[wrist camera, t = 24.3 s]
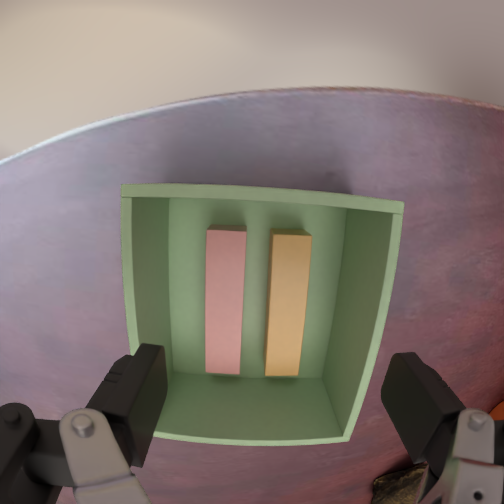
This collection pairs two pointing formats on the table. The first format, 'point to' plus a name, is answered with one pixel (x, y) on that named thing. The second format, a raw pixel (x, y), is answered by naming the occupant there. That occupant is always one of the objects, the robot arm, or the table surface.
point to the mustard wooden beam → (286, 300)
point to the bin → (259, 307)
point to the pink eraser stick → (224, 297)
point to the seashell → (398, 486)
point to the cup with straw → (498, 412)
